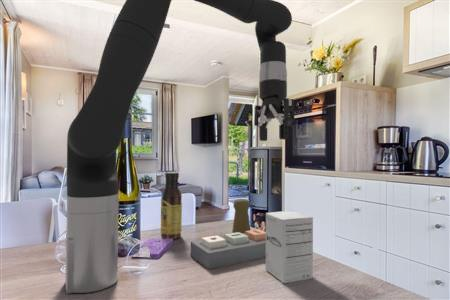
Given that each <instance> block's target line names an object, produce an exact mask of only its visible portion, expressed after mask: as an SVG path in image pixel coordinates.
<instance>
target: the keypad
mask: <svg viewBox="0 0 450 300" xmlns="http://www.w3.org/2000/svg"><path fill="white" fill-rule="evenodd" d="M243 234H244V235H245V233H243ZM220 237H221V238H223V239H224V235H223V236H220ZM190 257H192V258H193V259H194V260H196V261H197V262H198V263H200V264H201V265H202V266H203V267H204V268H206V269H207V270H212V269H216V268H221V267H227V266H231V265H234V264H240V263H244V262H249V261H254V260H259V259H263V258H266V239H265V240H259V241H253V240H250V239H248V243H242V244H236V245H231V244H229V243H227V242H226V246H225V247H219V248H213V249H207V248H206V247H204V246H203V245H201V239H199V240H192V241H190Z"/></svg>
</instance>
